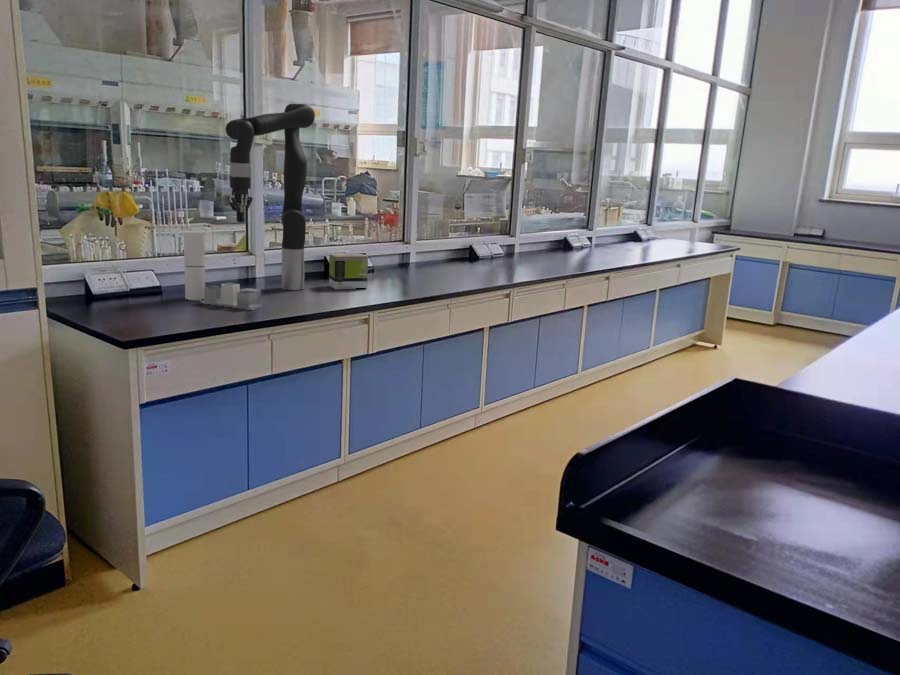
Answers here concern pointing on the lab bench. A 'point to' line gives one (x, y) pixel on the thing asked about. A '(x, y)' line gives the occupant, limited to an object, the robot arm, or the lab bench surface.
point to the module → (229, 293)
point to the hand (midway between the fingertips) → (240, 222)
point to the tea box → (348, 271)
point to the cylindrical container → (194, 265)
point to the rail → (244, 301)
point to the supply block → (255, 291)
